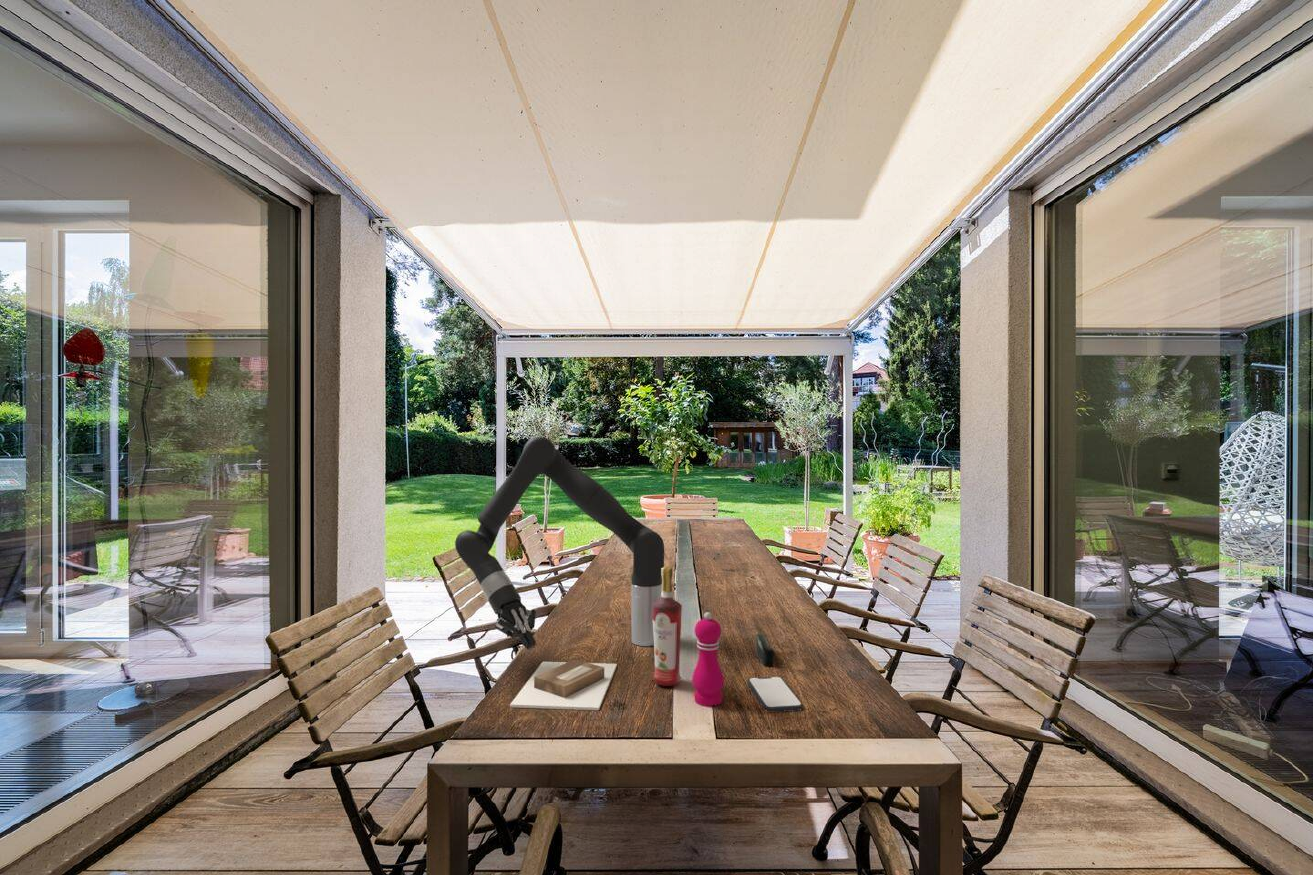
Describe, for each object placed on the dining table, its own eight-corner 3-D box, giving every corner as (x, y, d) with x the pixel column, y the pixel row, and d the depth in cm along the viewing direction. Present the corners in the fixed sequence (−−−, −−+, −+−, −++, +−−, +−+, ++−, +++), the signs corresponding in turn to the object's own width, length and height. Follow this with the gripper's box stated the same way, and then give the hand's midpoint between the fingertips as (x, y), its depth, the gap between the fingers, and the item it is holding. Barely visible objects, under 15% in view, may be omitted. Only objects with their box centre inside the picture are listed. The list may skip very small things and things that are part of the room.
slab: (534, 676, 137) (564, 686, 132) (574, 658, 149) (604, 666, 143) (534, 687, 137) (564, 697, 132) (574, 669, 149) (604, 677, 143)
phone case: (805, 713, 127) (781, 682, 143) (805, 705, 127) (781, 675, 143) (765, 715, 126) (746, 684, 142) (765, 707, 126) (746, 677, 142)
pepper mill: (703, 710, 127) (702, 618, 127) (686, 697, 133) (686, 610, 134) (730, 703, 130) (730, 614, 131) (712, 691, 137) (712, 606, 137)
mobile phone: (775, 649, 152) (762, 629, 167) (764, 649, 152) (752, 630, 167) (775, 668, 152) (762, 647, 167) (764, 668, 152) (752, 647, 167)
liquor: (647, 686, 139) (647, 570, 140) (658, 675, 146) (657, 564, 147) (676, 690, 137) (676, 572, 137) (685, 679, 144) (685, 566, 144)
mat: (616, 665, 153) (616, 663, 153) (598, 710, 127) (598, 707, 127) (542, 663, 154) (542, 661, 154) (510, 707, 128) (510, 704, 128)
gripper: (487, 588, 148) (519, 646, 141) (525, 579, 159) (558, 631, 152) (473, 606, 151) (504, 663, 144) (512, 595, 162) (543, 648, 154)
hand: (532, 647), depth 148 cm, fingers closed
